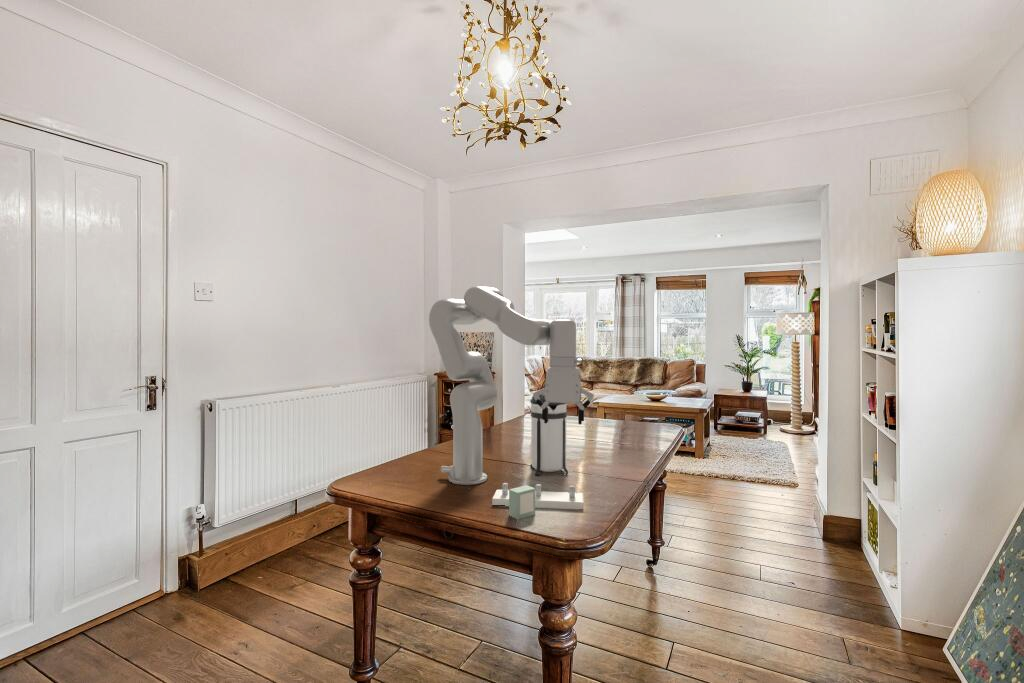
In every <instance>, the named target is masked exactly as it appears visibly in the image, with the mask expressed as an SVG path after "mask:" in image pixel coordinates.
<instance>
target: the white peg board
mask: <svg viewBox="0 0 1024 683" xmlns="http://www.w3.org/2000/svg"><path fill="white" fill-rule="evenodd" d="M501 485H502V486H501V489H496V491H494V492H495V493H494V495H492V502H491V503H492V505H505V506H504V507H509V483H508V482H504V483H501ZM568 488H569V489H568V491H569V492H567V491H565V492H564V491H544V490H543V491H542V484H539V483H537V484H535V509H536V508H541V509H558V510H559V509H561V510H579V509H583V510H584V493H583V492H576V485H569V486H568Z"/></svg>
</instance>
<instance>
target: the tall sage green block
mask: <svg viewBox="0 0 1024 683" xmlns="http://www.w3.org/2000/svg"><path fill="white" fill-rule="evenodd" d="M508 490H509V506H508V507H509V508H508V515H510V516H509V517H511V516H513V517H515V518H516V519H515V518H514V519H515V520H517V519H518V520H520V519H519V518H522V519H524V518H523V517H525V518H528V517H532V516H534V515H536V508H535V491H536V487H532V486H530V485H529V484H525V485H522V486H518V487H514V488H508ZM531 515H532V516H531ZM527 516H528V517H527ZM513 517H512V518H513Z"/></svg>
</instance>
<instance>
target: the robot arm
mask: <svg viewBox="0 0 1024 683" xmlns="http://www.w3.org/2000/svg"><path fill="white" fill-rule="evenodd" d="M465 291H466V292H464V293H465V294H464V295H463V299H460V298H443V299H440V300H437V301H436V302H435V303H434V304H433V305H432V307H431V308H430V310H429V314H428V325H429V328H430V330H431V333H432V336H433V337H434V340H435V343H436V345H437V348H438V351H439V356H440V357H441V361H442V364H443V367H444V371H445V373H446V376H447V377H448V379H450V380H451V381H454V382H455V381H456V382H460V381H462V382H463V381H469V382H463V383H460V384H458V385H456V386H455V387H454V388H453V389H451V392H450V396H449V403H450V408H451V413H452V415H451V416H452V432H453V433H452V434H453V435H452V437H453V438H452V440H453V441H452V442H453V443H452V445H453V446H452V447H453V450H452V458H453V459H452V465H450V466H447V465H441V467H440V472H441V473H442V474H449V475H448V481H449V482H450V483H451V482H452V484H455V485H459V484H460V486H462V485H463V486H471V485H479V484H482V483H484V482H486V481H487V480H488V475H487V474H486V473H485V472H483V423H482V421H483V420H482V418H481V417H480V414H479V411H482V410H488V409H490V408H492V407H493V406H494V405H496V403H497V400H498V388H497V385H496V384H495V380H494V377H493V374H492V372H491V369H490V366H489V362H488V361H487V359H486V357H485V356H484V355H483V354H481V353H480V352H478V351H468V350H467V349H466V346H465V343H464V341H463V337H462V336H461V335H460V333H459V332H458V330H457V329H456V328H455V327H454V325H463V326H464V325H465V326H466V325H473V324H476V323H479V322H481V321H482V320H487V321H489V322H491V323H493V324H494V325H496V326H497V329H499V330H500V332H501V333H502V334H503V335H505V336H507V337H509V338H510V339H512V340H514V341H515V342H517V343H520V344H521V345H526V346H547V345H549V367H547V368H546V372H545V373H546V374H545V385H544V387H543V388H541V389H539V390H536V391H534V392H533V393H532V397H534V399H535V400H536V403H537V404H538V405H539V406H540V407H541V409H542V420H544V423H547V422H548V408H547V405H548V404H549V403H567V404H575V405H576V406H577V407H578V408H579V409H578V412H577V413H578V417H577V418H578V420H577V422H578V425H582V423H583V422H584V421H585V409H586V408H588V407H589V405H590V404H591V402H592V401H593V398H594V397H595V394H594V393H592V392H590V391H588V390H587V389H585V388H583V387H582V382H581V377H582V376H581V372H580V371H581V370H580V367H577V366H578V365H581V364H582V359H581V358H578V357H577V324H576V321H575V320H572V319H553V320H551V319H539V318H529V317H525V316H523V315H521V314H520V313H518V312H516V311H515V305H514V303H513V301H511V300H509V299H508V298H505V297H504V294H503V293H502V292H501V291H500V290H499V289H497V288H495V287H490V286H480V285H476V286H475V285H474V286H471V287H470V288H468V289H467V290H465ZM544 392H545V400H546V401H545V402H544V403H543V402H542V401H541V399H540V398H539V395H540V394H542V393H544ZM582 395H584V396H585V397H587V399H586V400H585V401H584V402H583V401H582Z"/></svg>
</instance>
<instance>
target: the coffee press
mask: <svg viewBox="0 0 1024 683" xmlns="http://www.w3.org/2000/svg"><path fill="white" fill-rule="evenodd" d="M539 398H540V399H541V401H542V402H543V403H544V402H545V401H546V400H545V392H544V393H542V394H540V395H539ZM529 402H530V404H531V406H530V407H531V410H530V417H531V418H530V420H531V422H530V424H531V425H530V426H531V437H530V438H531V439H530V440H531V442H530V444H531V445H530V446H531V455H530V456H531V463H530V465H529V467H530V469H531V468H534V469H535V472H534V475H535V477H541V475H542V473H543V472H549V473H550V472H560V473H561V474H562V475H563V476H567V475H568V474H569V471H568V469H567V467H566V466H567V417H568V411H567V404H568V403H549V404H548V405H547V408H548V422H547V423H544V420H542V409H541V407H540V406H539V405H538V404H537V403H536V400H535V399H534V397H533V396H532V397H531V399H530V400H529ZM564 474H566V475H564Z"/></svg>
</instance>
